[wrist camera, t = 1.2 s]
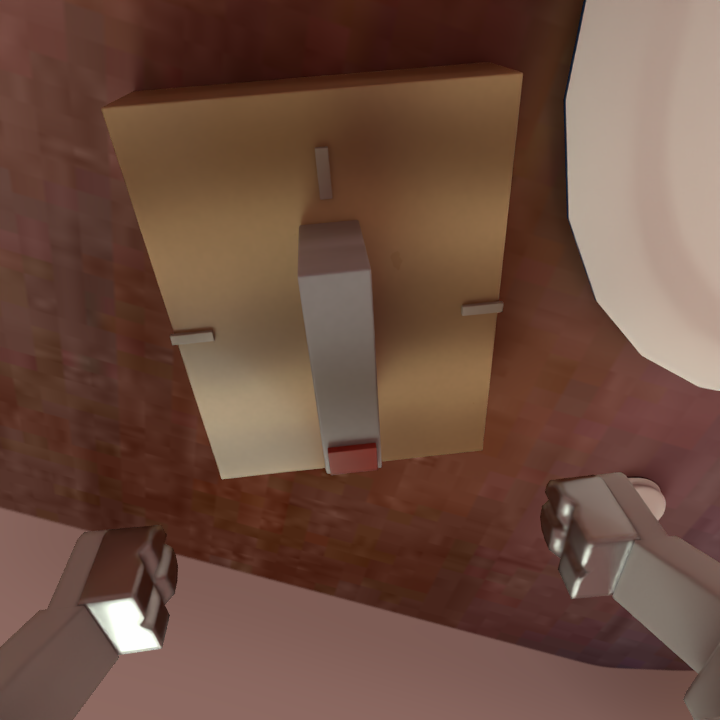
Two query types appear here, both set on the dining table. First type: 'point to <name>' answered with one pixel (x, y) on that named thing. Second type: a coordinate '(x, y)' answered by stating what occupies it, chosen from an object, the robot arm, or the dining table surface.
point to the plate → (649, 174)
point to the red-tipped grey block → (341, 343)
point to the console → (322, 205)
